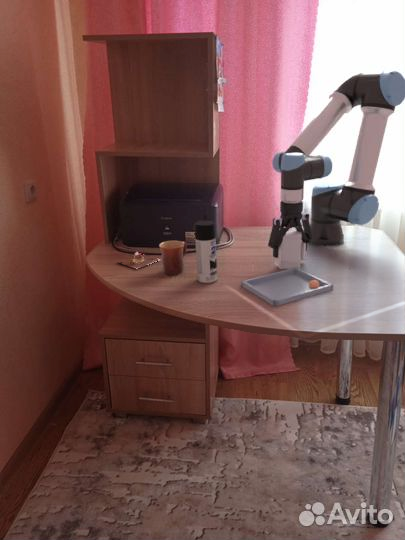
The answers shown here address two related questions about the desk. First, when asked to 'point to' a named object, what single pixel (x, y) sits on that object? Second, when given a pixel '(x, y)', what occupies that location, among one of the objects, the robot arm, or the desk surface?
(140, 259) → the dessert
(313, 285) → the ball
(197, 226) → the spray can
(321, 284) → the tray
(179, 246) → the mug
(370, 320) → the desk surface
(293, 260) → the supplement box
